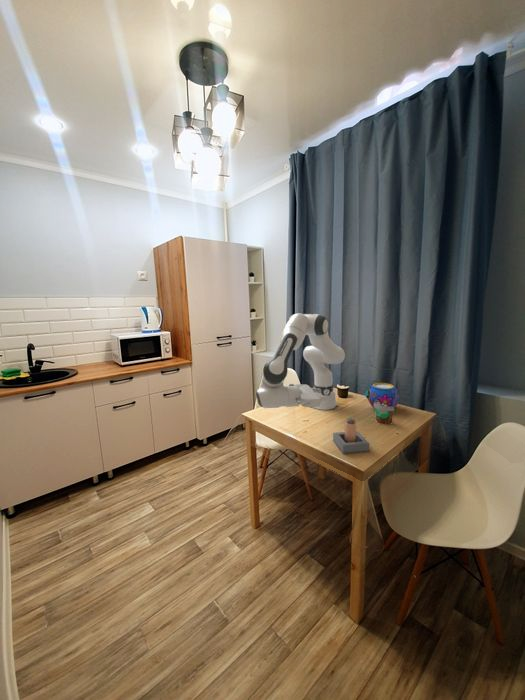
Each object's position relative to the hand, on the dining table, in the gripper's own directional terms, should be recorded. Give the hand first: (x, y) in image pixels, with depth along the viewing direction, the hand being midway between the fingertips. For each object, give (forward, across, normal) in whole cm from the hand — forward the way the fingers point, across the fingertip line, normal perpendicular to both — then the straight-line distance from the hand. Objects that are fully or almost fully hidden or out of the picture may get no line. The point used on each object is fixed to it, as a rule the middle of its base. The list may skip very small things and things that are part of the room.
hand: (324, 393), depth 122 cm
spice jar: (+12, -1, +25) cm, 28 cm away
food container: (+39, +21, +26) cm, 51 cm away
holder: (+12, -1, +26) cm, 28 cm away
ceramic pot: (+49, +37, +26) cm, 67 cm away
